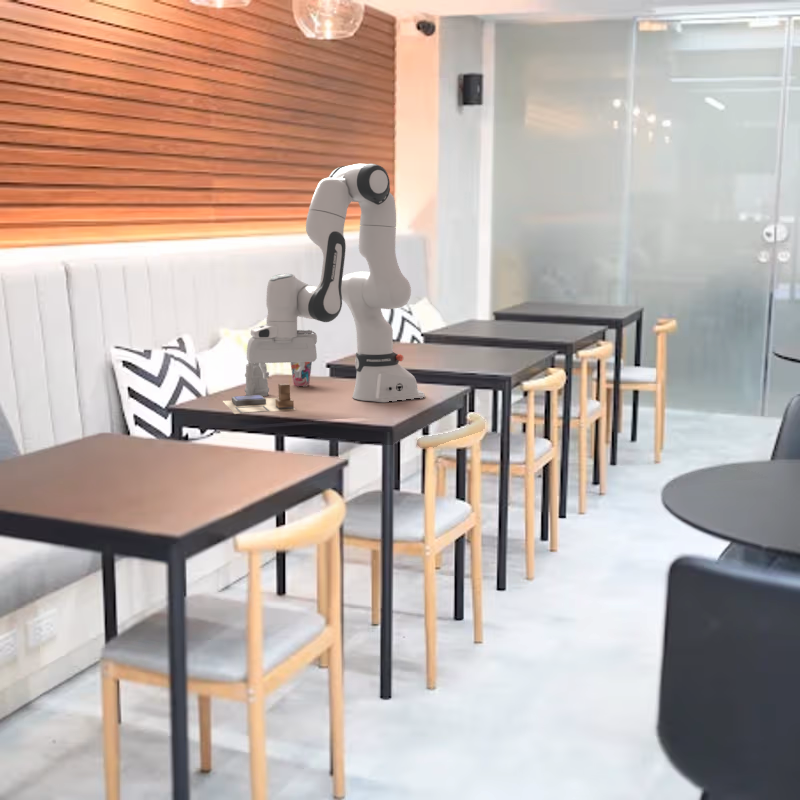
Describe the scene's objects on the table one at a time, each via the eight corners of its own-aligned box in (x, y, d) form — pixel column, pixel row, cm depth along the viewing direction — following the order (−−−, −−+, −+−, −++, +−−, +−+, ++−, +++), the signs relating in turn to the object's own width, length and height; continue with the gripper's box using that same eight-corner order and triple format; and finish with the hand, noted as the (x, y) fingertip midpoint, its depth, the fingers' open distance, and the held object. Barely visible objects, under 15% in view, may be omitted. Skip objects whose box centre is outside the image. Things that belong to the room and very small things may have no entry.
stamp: (290, 405, 329) (289, 382, 327) (293, 408, 324) (293, 385, 323) (275, 406, 327) (275, 383, 326) (278, 409, 323) (278, 385, 322)
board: (280, 400, 343) (280, 391, 342) (296, 413, 323) (295, 403, 323) (222, 404, 337) (222, 395, 337) (234, 417, 317) (234, 407, 317)
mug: (272, 393, 355) (271, 356, 353) (261, 400, 344) (260, 361, 342) (249, 392, 356) (248, 355, 354) (237, 399, 345) (236, 361, 343)
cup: (287, 387, 366) (286, 351, 364) (290, 383, 374) (289, 347, 372) (315, 387, 366) (314, 351, 363) (318, 383, 374) (317, 347, 372)
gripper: (314, 328, 328) (314, 375, 330) (245, 329, 321) (245, 377, 324) (319, 331, 322) (319, 378, 324) (249, 332, 315) (249, 380, 318)
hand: (281, 377), depth 324 cm, fingers open, 8 cm apart
